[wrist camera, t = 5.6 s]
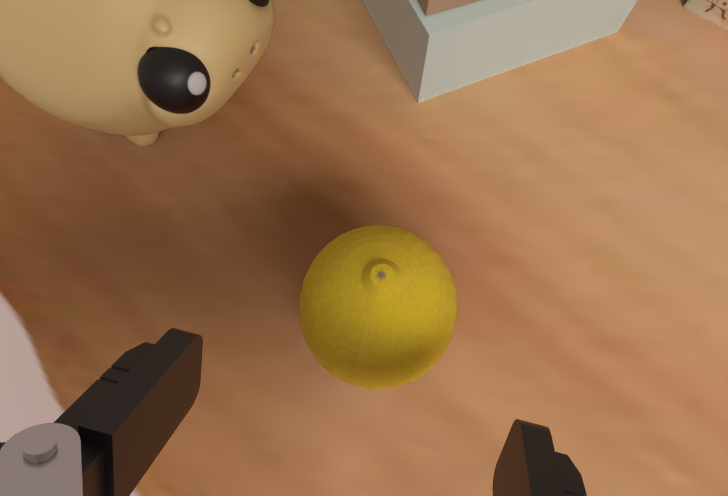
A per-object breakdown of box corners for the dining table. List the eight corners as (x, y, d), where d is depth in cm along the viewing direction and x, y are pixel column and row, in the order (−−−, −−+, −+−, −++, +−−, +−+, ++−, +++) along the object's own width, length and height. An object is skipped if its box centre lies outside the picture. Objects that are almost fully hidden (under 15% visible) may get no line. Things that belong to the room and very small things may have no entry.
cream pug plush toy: (218, 225, 24) (117, 69, 14) (13, 124, 26) (-207, -78, 16) (320, 71, 27) (297, -147, 17) (131, -9, 29) (10, -249, 19)
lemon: (317, 264, 23) (298, 180, 16) (441, 275, 23) (481, 195, 15) (301, 391, 21) (270, 364, 14) (436, 404, 21) (479, 383, 14)
